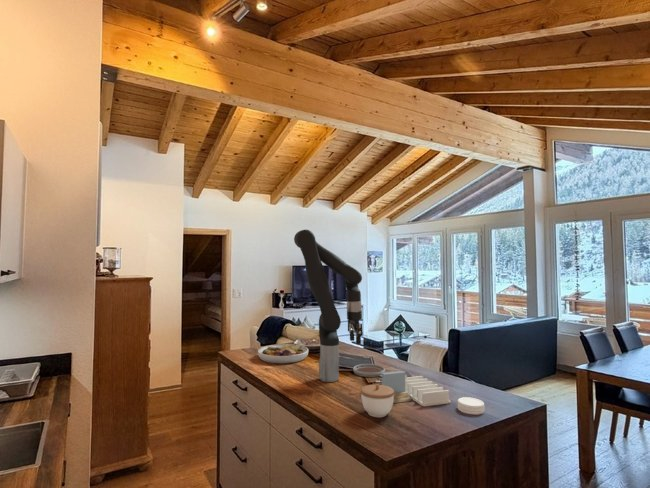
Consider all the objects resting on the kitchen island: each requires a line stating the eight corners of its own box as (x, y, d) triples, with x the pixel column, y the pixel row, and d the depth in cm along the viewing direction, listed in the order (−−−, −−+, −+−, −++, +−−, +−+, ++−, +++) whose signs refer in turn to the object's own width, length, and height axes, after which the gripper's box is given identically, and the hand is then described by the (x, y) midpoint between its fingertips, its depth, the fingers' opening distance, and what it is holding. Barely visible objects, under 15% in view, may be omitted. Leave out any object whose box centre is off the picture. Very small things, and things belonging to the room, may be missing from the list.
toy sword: (382, 381, 181) (346, 366, 204) (382, 387, 181) (346, 371, 204) (408, 375, 191) (370, 361, 214) (408, 381, 191) (370, 366, 214)
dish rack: (422, 406, 156) (422, 393, 156) (397, 389, 176) (397, 377, 177) (450, 403, 160) (450, 390, 160) (422, 386, 180) (422, 375, 180)
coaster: (460, 403, 160) (460, 395, 160) (486, 408, 155) (486, 399, 155) (455, 412, 151) (454, 402, 151) (482, 417, 146) (482, 407, 146)
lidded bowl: (372, 404, 157) (372, 377, 158) (400, 412, 149) (399, 383, 150) (354, 414, 148) (354, 385, 148) (383, 423, 140) (383, 392, 140)
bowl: (254, 354, 241) (254, 341, 241) (301, 350, 250) (301, 338, 250) (261, 367, 212) (261, 352, 212) (314, 362, 221) (314, 348, 221)
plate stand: (384, 404, 158) (384, 396, 158) (376, 397, 166) (376, 390, 166) (411, 400, 162) (410, 393, 162) (401, 394, 169) (401, 387, 170)
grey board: (383, 398, 162) (383, 374, 162) (381, 397, 163) (381, 373, 164) (405, 396, 164) (405, 372, 165) (403, 394, 166) (402, 371, 167)
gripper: (342, 308, 200) (343, 340, 200) (352, 312, 187) (353, 346, 186) (355, 307, 202) (357, 338, 202) (366, 311, 189) (367, 344, 188)
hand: (355, 342), depth 194 cm, fingers open, 8 cm apart
